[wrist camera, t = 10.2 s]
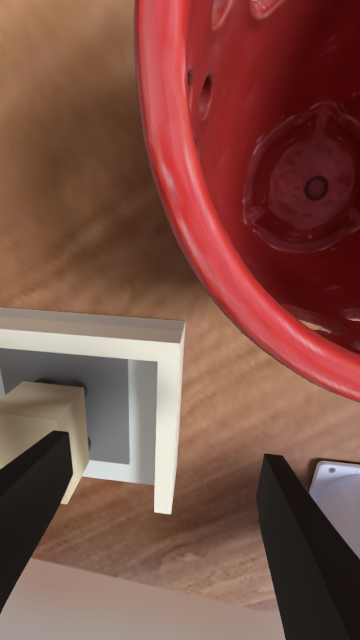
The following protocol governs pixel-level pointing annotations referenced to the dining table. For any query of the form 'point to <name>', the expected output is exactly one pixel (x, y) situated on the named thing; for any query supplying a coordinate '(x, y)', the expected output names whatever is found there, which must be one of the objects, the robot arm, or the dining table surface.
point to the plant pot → (262, 166)
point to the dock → (108, 385)
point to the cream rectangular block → (45, 422)
